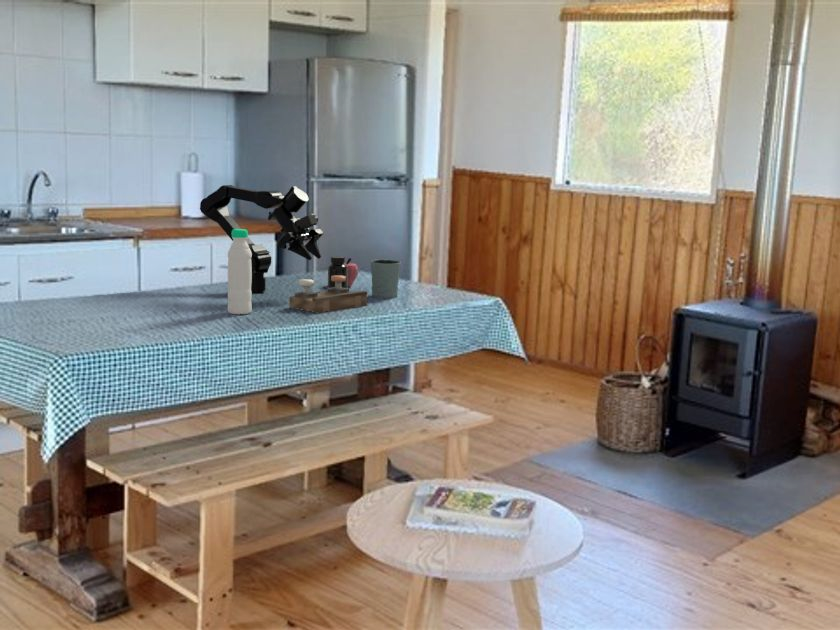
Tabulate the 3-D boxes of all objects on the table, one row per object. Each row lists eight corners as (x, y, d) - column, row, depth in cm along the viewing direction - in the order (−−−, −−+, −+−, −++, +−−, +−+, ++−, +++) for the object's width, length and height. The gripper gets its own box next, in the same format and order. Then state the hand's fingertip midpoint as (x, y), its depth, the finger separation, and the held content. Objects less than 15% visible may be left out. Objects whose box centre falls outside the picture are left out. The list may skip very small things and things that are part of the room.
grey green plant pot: (394, 293, 338) (395, 259, 336) (403, 298, 329) (404, 263, 327) (366, 294, 335) (367, 259, 333) (374, 299, 326) (375, 263, 323)
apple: (333, 284, 355) (334, 256, 353) (357, 284, 356) (358, 257, 354) (334, 288, 345) (334, 260, 343) (358, 288, 346) (359, 260, 344)
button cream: (298, 299, 303) (298, 281, 302) (299, 297, 308) (299, 279, 306) (313, 300, 303) (313, 281, 302) (313, 297, 308) (314, 279, 307)
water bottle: (231, 315, 289) (231, 230, 285) (224, 311, 295) (224, 228, 291) (254, 314, 292) (255, 230, 288) (247, 310, 299) (247, 228, 294)
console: (289, 307, 305) (289, 292, 304) (339, 300, 322) (340, 285, 321) (316, 313, 297) (316, 298, 296) (366, 305, 314) (367, 290, 313)
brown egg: (330, 295, 314) (331, 277, 312) (331, 292, 318) (331, 275, 317) (345, 295, 314) (345, 277, 313) (345, 293, 318) (345, 275, 317)
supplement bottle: (348, 290, 341) (349, 256, 339) (345, 293, 335) (346, 258, 333) (329, 289, 342) (330, 255, 340) (325, 292, 335) (326, 257, 333)
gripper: (285, 207, 309) (313, 245, 306) (319, 204, 326) (346, 240, 323) (265, 230, 315) (292, 267, 311) (299, 226, 331) (325, 261, 328)
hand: (315, 258), depth 318 cm, fingers open, 5 cm apart
